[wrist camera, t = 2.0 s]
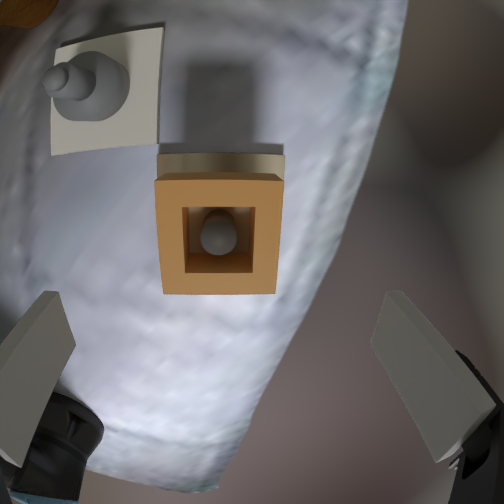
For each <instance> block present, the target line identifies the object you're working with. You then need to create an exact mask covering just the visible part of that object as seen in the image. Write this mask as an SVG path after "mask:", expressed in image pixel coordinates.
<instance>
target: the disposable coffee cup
mask: <svg viewBox="0 0 504 504" xmlns="http://www.w3.org/2000/svg"><path fill="white" fill-rule="evenodd" d="M57 2H58V0H0V25H4V26H11V27H19V28H24V29H29V28H33V27H35V26H37V25H38V24H40V23H41V22H43V21H44V20H45V19H46V18H47V17H48V16H49V15H50V13H51V12H52V11H53V9H54V8H55V6H56V4H57Z"/></svg>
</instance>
